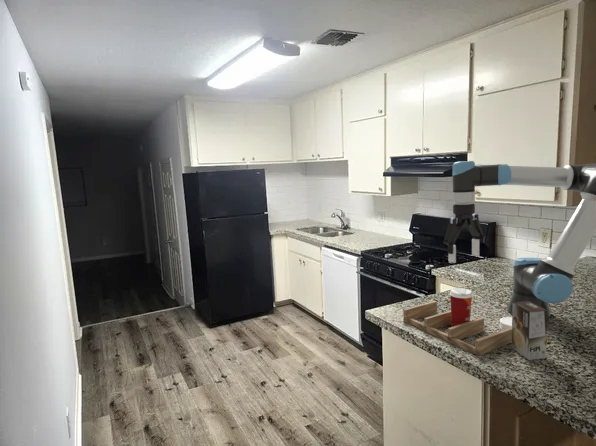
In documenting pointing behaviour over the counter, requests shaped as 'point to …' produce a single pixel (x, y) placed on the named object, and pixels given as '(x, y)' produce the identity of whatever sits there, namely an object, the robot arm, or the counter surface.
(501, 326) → the white round dish
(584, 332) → the counter surface
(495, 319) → the counter surface
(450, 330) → the oak rack
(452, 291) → the coffee cup
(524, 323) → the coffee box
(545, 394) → the counter surface
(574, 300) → the counter surface
